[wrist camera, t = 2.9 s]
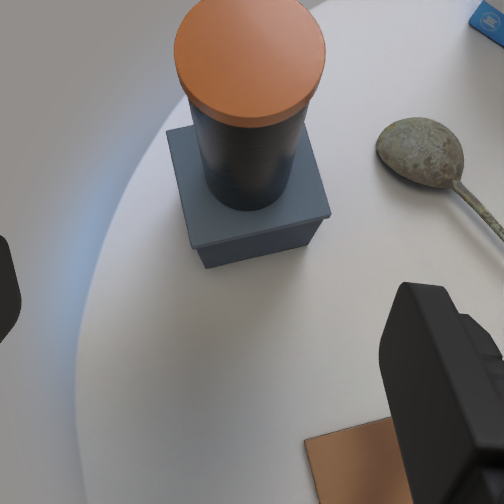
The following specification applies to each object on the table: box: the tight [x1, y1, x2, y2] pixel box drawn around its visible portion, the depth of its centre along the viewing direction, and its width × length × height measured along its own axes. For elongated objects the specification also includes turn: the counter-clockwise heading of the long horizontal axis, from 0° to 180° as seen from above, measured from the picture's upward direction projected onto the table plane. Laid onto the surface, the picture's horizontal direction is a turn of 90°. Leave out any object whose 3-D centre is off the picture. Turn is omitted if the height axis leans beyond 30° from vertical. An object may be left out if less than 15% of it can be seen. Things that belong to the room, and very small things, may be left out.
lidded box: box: [166, 123, 331, 269], centre depth 33 cm, size 9×8×9 cm
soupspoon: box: [376, 118, 504, 242], centre depth 36 cm, size 22×3×7 cm
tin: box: [174, 0, 326, 211], centre depth 23 cm, size 6×6×12 cm
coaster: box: [304, 417, 413, 504], centre depth 33 cm, size 8×8×1 cm
